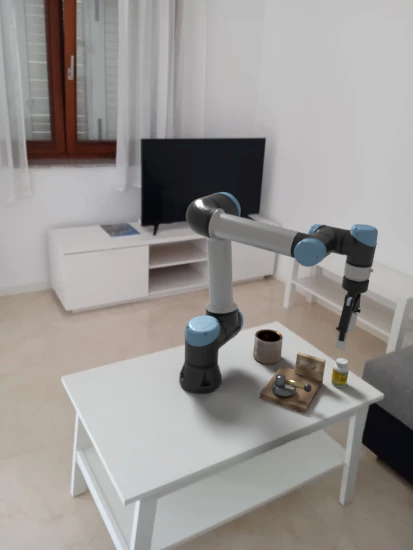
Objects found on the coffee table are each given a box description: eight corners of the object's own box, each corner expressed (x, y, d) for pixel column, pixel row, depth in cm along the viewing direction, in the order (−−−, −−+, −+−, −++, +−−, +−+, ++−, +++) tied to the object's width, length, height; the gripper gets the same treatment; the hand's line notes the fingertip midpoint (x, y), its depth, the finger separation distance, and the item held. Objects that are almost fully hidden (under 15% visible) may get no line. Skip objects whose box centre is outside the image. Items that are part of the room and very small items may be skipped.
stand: (259, 398, 161) (261, 372, 157) (280, 370, 177) (283, 347, 174) (305, 413, 154) (308, 388, 150) (322, 383, 170) (326, 359, 166)
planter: (282, 365, 181) (284, 343, 177) (254, 364, 181) (255, 342, 177) (278, 350, 191) (281, 329, 187) (251, 349, 191) (253, 328, 187)
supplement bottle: (337, 378, 174) (341, 355, 170) (349, 385, 170) (353, 362, 166) (327, 382, 171) (331, 359, 168) (339, 389, 167) (342, 366, 163)
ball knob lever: (268, 393, 160) (269, 379, 158) (276, 382, 166) (278, 368, 164) (306, 407, 154) (308, 392, 152) (313, 394, 160) (315, 379, 158)
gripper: (361, 294, 129) (348, 361, 136) (376, 267, 149) (365, 326, 157) (333, 288, 132) (322, 353, 140) (352, 262, 152) (342, 320, 160)
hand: (345, 339), depth 148 cm, fingers open, 13 cm apart
